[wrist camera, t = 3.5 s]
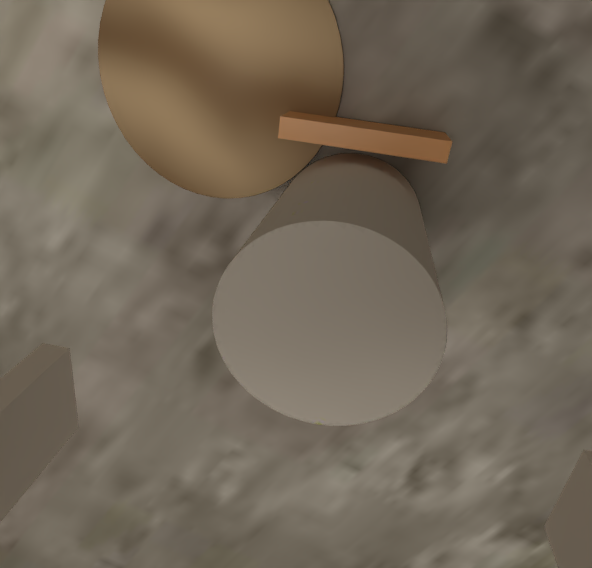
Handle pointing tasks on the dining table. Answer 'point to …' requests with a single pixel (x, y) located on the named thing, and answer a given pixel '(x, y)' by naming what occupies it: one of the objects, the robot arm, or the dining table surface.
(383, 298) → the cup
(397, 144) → the bars
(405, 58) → the dining table surface
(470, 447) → the dining table surface
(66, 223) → the dining table surface
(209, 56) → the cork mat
